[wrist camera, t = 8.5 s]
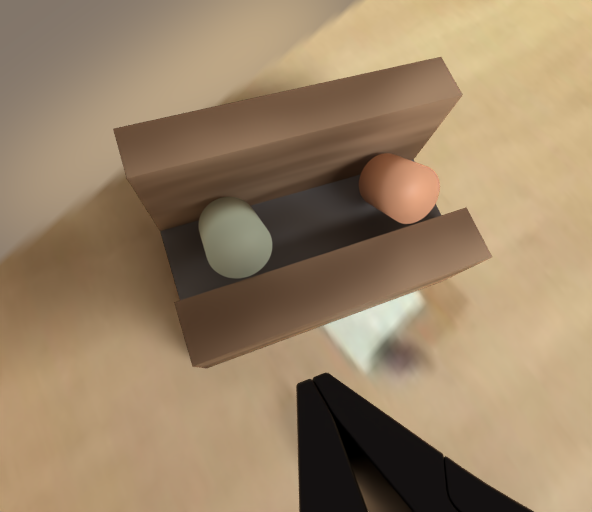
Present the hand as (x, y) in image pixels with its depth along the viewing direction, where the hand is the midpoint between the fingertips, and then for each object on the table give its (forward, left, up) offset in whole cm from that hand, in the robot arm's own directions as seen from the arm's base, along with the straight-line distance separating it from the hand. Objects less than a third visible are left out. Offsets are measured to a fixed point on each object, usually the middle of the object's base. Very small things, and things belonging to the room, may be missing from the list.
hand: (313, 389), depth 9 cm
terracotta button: (+11, -1, -9) cm, 15 cm away
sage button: (+5, +5, -9) cm, 12 cm away
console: (+8, +2, -13) cm, 15 cm away
